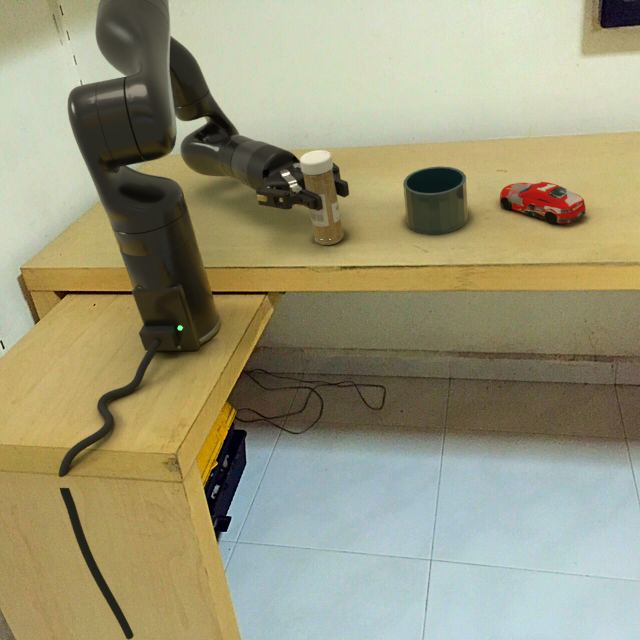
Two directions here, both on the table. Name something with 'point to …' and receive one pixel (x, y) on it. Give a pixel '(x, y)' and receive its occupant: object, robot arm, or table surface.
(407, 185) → the cup
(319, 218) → the sprinkles bottle
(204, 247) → the table surface
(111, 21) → the robot arm
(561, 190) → the race car
